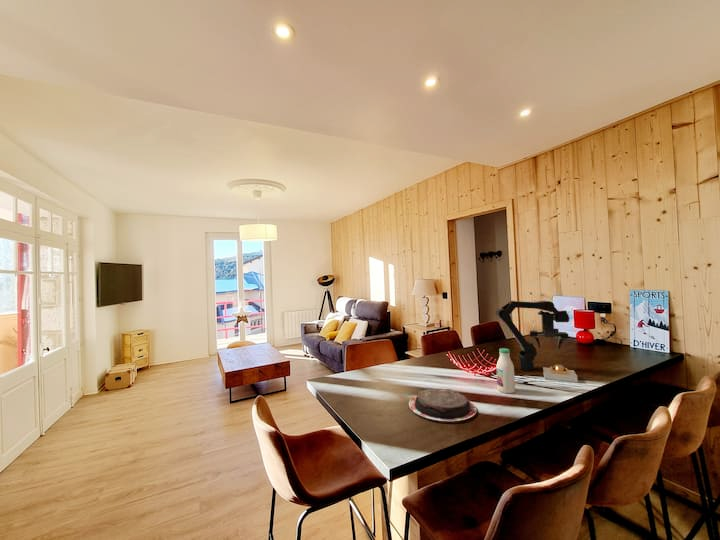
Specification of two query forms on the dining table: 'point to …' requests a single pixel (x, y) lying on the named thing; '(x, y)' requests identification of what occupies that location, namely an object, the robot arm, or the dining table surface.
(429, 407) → the chocolate cake
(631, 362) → the dining table surface
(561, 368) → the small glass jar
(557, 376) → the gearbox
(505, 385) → the milk bottle
